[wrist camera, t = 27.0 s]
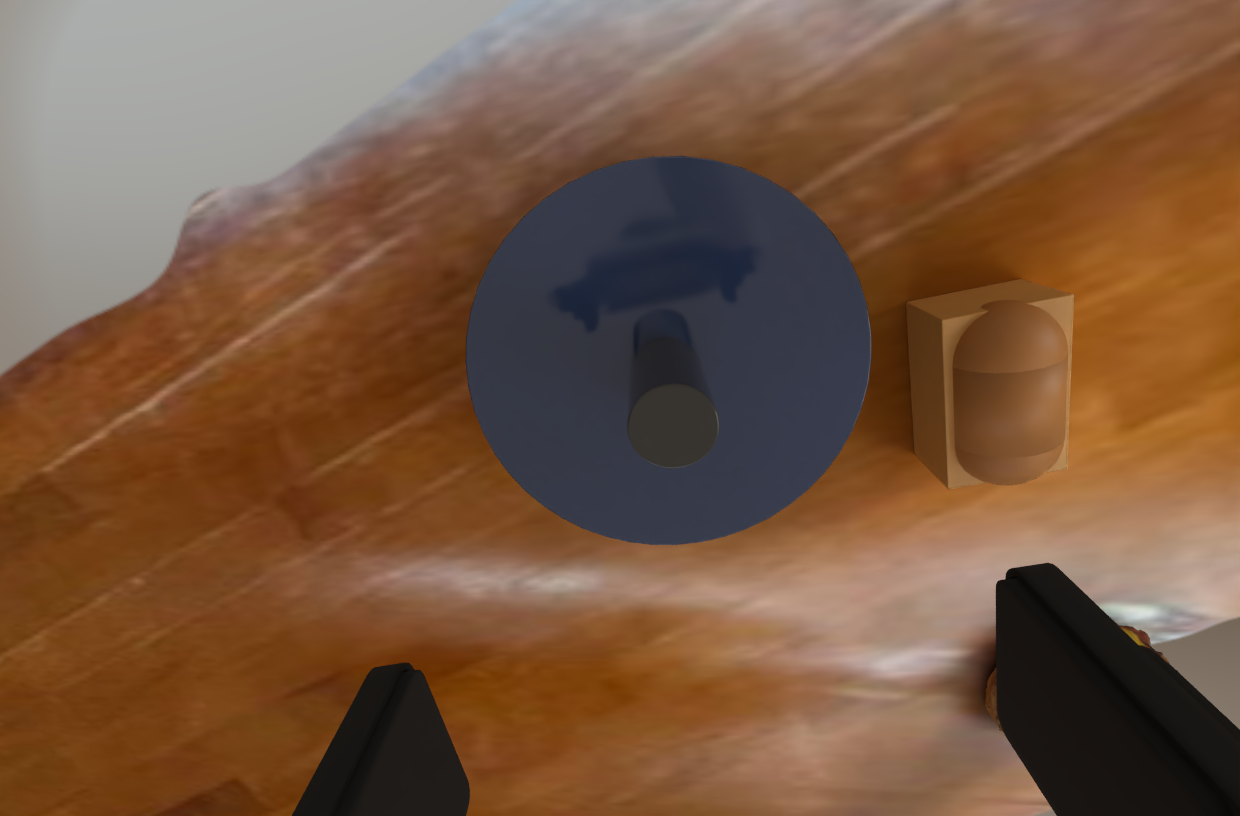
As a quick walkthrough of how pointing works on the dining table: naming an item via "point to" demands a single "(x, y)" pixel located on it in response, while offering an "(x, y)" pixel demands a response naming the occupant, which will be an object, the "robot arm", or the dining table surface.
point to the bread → (991, 382)
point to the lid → (668, 350)
